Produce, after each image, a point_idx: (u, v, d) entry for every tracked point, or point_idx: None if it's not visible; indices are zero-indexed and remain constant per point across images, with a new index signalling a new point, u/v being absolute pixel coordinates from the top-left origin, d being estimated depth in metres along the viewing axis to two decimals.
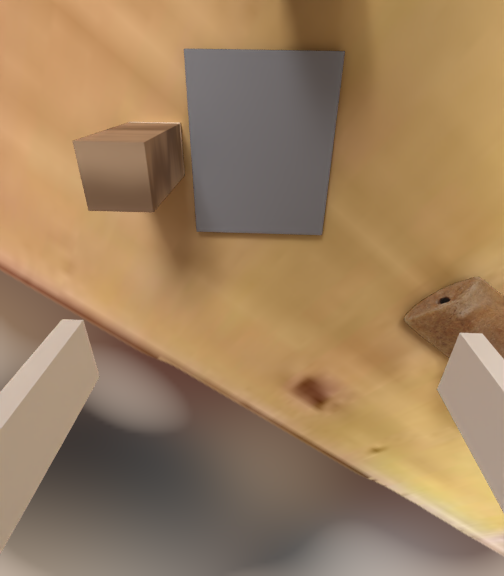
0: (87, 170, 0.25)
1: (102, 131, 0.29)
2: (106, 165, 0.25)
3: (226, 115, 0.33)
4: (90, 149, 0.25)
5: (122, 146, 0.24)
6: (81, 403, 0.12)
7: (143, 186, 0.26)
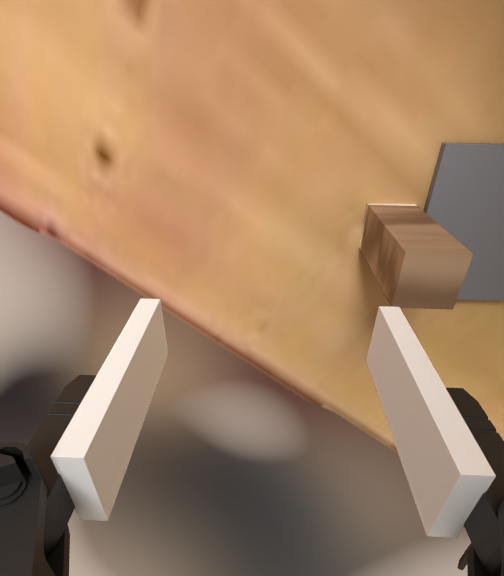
0: (407, 275, 0.27)
1: (388, 228, 0.31)
2: (427, 272, 0.27)
3: (467, 200, 0.35)
4: (419, 259, 0.27)
5: (451, 257, 0.26)
6: (158, 375, 0.13)
7: (454, 289, 0.28)
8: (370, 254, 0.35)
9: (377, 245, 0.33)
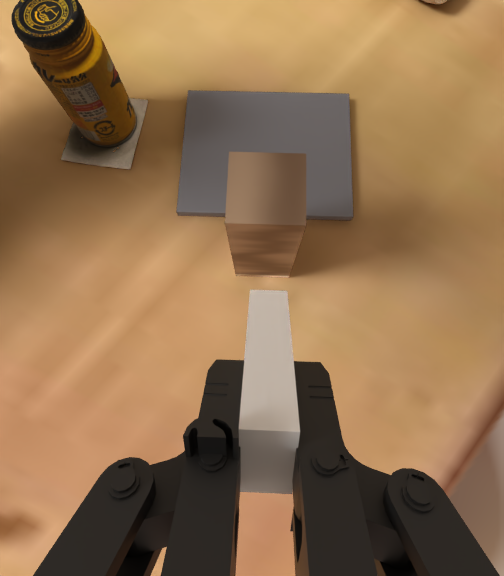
0: (257, 214, 0.22)
1: None
2: (252, 193, 0.22)
3: None
4: (234, 206, 0.22)
5: (232, 172, 0.22)
6: None
7: (276, 159, 0.23)
8: (279, 263, 0.29)
9: (261, 257, 0.28)
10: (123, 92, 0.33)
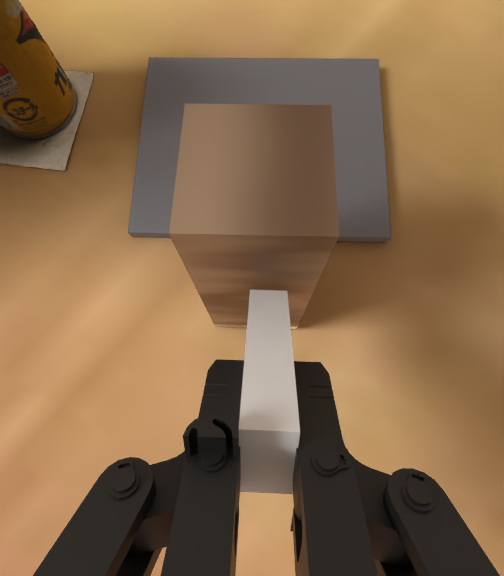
0: (237, 216, 0.11)
1: (196, 286, 0.15)
2: (227, 175, 0.11)
3: None
4: (190, 200, 0.11)
5: (189, 139, 0.12)
6: None
7: (274, 115, 0.12)
8: None
9: None
10: (46, 55, 0.22)
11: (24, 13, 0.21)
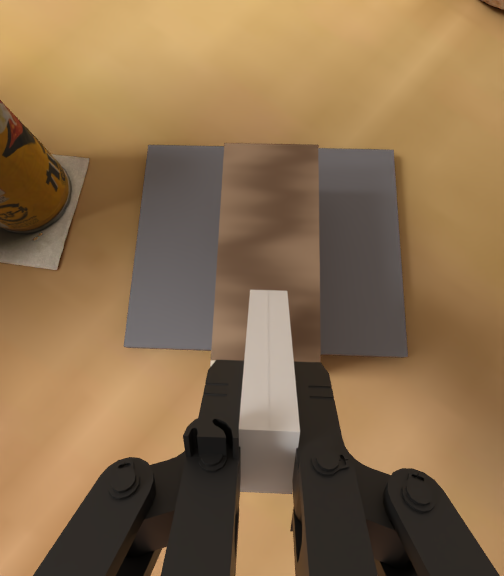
0: None
1: (219, 229, 0.18)
2: None
3: (213, 291, 0.22)
4: None
5: None
6: None
7: None
8: (296, 283, 0.17)
9: (264, 256, 0.17)
10: (36, 158, 0.21)
11: (12, 122, 0.19)
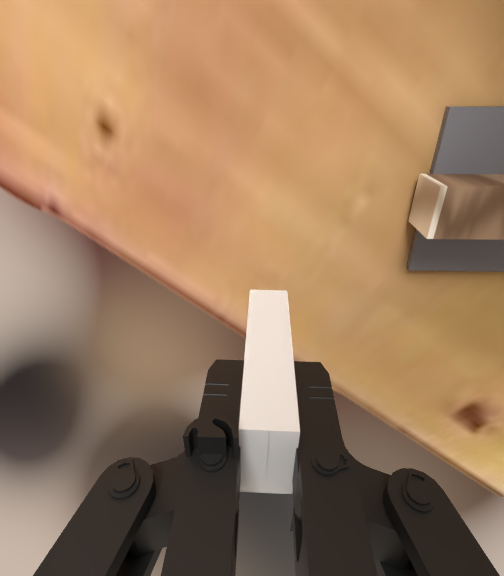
0: None
1: None
2: None
3: (472, 165, 0.35)
4: None
5: None
6: None
7: None
8: (476, 228, 0.33)
9: (496, 212, 0.32)
10: None
11: None
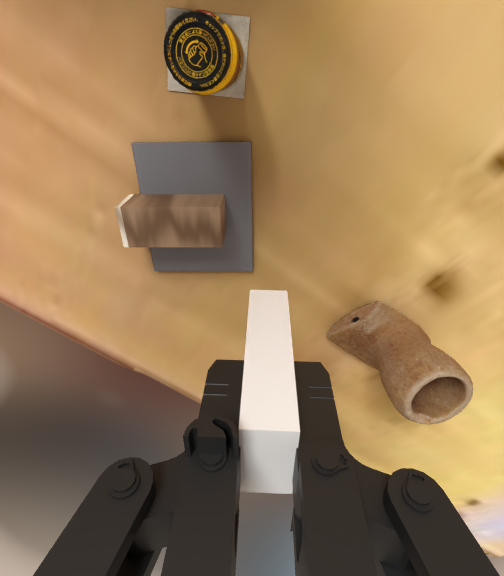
0: (221, 221, 0.41)
1: (176, 206, 0.40)
2: (222, 214, 0.42)
3: (168, 187, 0.44)
4: (221, 208, 0.41)
5: (223, 200, 0.43)
6: None
7: (225, 218, 0.45)
8: (157, 238, 0.42)
9: (166, 226, 0.41)
10: None
11: None
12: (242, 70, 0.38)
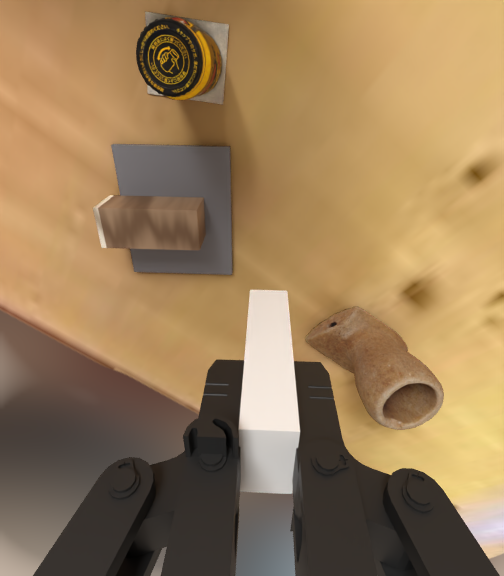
0: (198, 225, 0.42)
1: (154, 209, 0.40)
2: (200, 217, 0.43)
3: (147, 189, 0.44)
4: (198, 211, 0.41)
5: (201, 203, 0.43)
6: None
7: (204, 222, 0.46)
8: (135, 240, 0.42)
9: (144, 228, 0.41)
10: None
11: (195, 96, 0.34)
12: (221, 76, 0.38)
